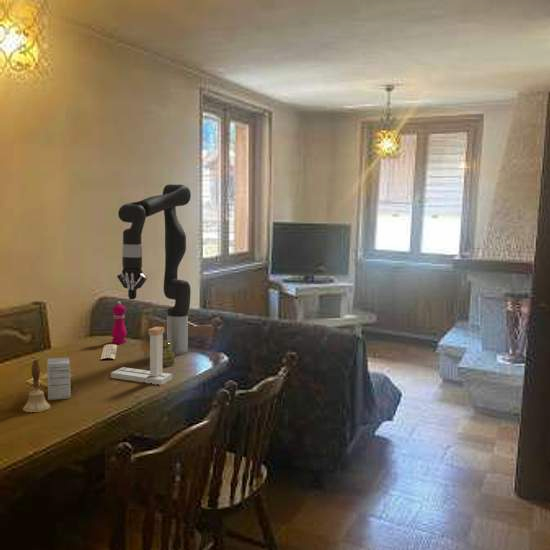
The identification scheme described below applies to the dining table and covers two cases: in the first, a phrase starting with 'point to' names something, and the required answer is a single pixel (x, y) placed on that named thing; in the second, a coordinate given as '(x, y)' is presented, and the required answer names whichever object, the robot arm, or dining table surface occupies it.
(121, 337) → the pepper mill
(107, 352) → the newspaper
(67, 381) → the supplement box
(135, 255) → the robot arm
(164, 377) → the white scale plate
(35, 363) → the hand bell
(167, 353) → the brass knobbed piece
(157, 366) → the fader tab
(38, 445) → the dining table surface
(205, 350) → the dining table surface
